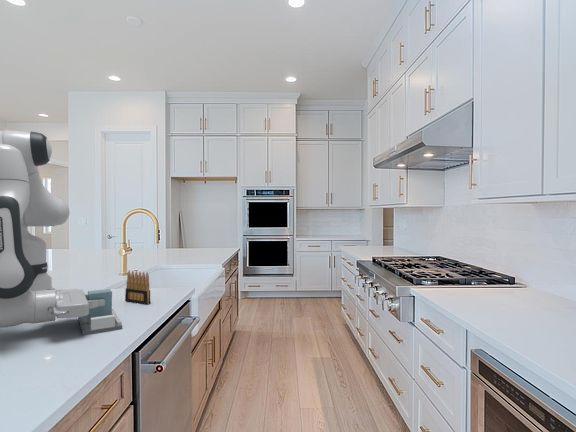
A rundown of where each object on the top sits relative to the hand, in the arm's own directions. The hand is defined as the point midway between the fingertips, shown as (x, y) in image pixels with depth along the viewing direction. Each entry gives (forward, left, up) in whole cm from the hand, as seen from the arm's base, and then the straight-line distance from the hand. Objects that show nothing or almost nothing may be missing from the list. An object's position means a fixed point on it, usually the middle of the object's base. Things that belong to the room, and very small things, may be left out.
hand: (103, 299), depth 105 cm
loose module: (0, -1, -6) cm, 7 cm away
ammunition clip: (-20, +14, -8) cm, 26 cm away
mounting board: (0, -1, -7) cm, 8 cm away
